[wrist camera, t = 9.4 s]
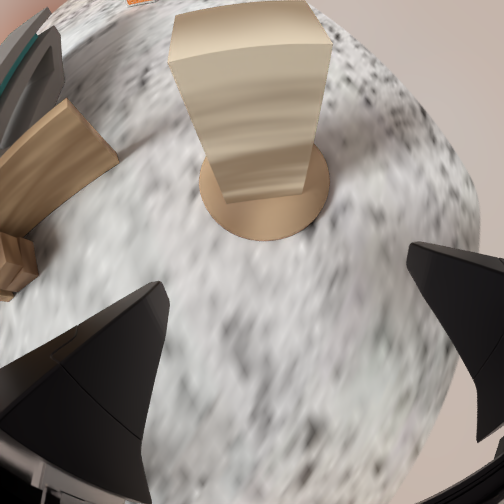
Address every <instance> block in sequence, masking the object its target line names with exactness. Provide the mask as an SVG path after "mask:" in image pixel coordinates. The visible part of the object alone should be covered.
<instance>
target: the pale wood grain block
mask: <svg viewBox="0 0 504 504" xmlns="http://www.w3.org/2000/svg"><path fill="white" fill-rule="evenodd" d="M332 46H333V43H332V42H331V40H330V38H329V37H328V35H327V33H326V32H325V30H324V28H323V27H322V25H321V24H320V22H319V20H318V19H317V17H316V16H315V14H314V13H313V11H312V10H311V8H310V7H309V5H308V4H307V3H306V1H305V0H284V1H263V2H250V3H241V4H233V5H225V6H219V7H213V8H207V9H202V10H197V11H192V12H188V13H184V14H179V15H176V16H175V21H174V26H173V31H172V37H171V43H170V49H169V56H168V62H167V63H168V65H169V67H170V70H171V72H172V75H173V77H174V80H175V82H176V84H177V87H178V89H179V92H180V94H181V97H182V99H183V101H184V104H185V106H186V109H187V111H188V113H189V116H190V118H191V121H192V123H193V125H194V128H195V130H196V133H197V135H198V137H199V140H200V142H201V145H202V147H203V149H204V152H205V154H206V157H207V159H208V161H209V164H210V166H211V169H212V171H213V173H214V176H215V178H216V180H217V183H218V185H219V188H220V190H221V192H222V195H223V197H224V199H225V202H226V204H231V203H238V202H245V201H252V200H260V199H268V198H276V197H284V196H293V195H302V191H303V187H304V183H305V178H306V174H307V170H308V165H309V161H310V156H311V152H312V147H313V143H314V138H315V133H316V129H317V124H318V119H319V114H320V109H321V104H322V100H323V94H324V89H325V84H326V79H327V74H328V68H329V63H330V58H331V52H332Z"/></svg>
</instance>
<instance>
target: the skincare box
mask: <svg viewBox="0 0 504 504" xmlns="http://www.w3.org/2000/svg"><path fill="white" fill-rule="evenodd" d="M124 1H125V3H126V5H127V7H130V6H135V5H140V4H145V3H151V2H156V1H158V0H124Z"/></svg>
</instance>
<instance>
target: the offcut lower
mask: <svg viewBox="0 0 504 504" xmlns="http://www.w3.org/2000/svg"><path fill="white" fill-rule="evenodd" d="M17 242H18V246H19V250H20V254H21V258H22V261H23V265H24V267H23V268H22V270H21V271H20V272H19V273H18V274H17V276H16V277H15V278H14V280H13V281H12V282H11V283H10V285H9V286H8V288H7V289H6V290H7V291H13V292H19V291H20V290H21V289H23V288H24V287H25V286H26V285H28V284H29V283H30V282H32V281H33V280H34V279H35V278H37V277H38V276H39V273H38V268H37V262H36V256H35V250H34V244H33V242H32V241H30V240H27V239H25V238H22V237H18V238H17Z"/></svg>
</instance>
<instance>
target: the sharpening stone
mask: <svg viewBox="0 0 504 504" xmlns="http://www.w3.org/2000/svg"><path fill="white" fill-rule="evenodd" d="M51 14H52V13H51V11H50V10H49V8H48V7H46V8H45V9H43V10H42V11H40V12H39V13H37V14H36V15H34V16H33V17H32V18H30V19H29V20H27V21H26V22H25V23H23V24H22V25H21V26H19V27H18V28H17V29H15V30H14V31H13V32H12V33H10V34H9V35H8V37H7V38H6V39H5V40H4V42H3V43H2V44H1V45H0V158H1V157H2V155H3V154H4V153H5V152H6V151H7V150H8V149H9V148H10V147H11V146H12V145H13V144H14V143H15V142H16V141H17V140H18V139H19V138H20V137H21V136H22V135H23V134H24V133H25V132H26V131H27V130H29V129H30V128H31V127H32V126H33V125H34V124H35V123H36V122H37V121H39V120H40V119H41V118H42V117H43V116H44V115H46V114H47V113H48V112H49V111H50V110H52V109H53V108H54V107H55V104H56V102H57V99H58V97H59V94H60V92H61V90H62V88H63V85H64V83H65V81H64V72H63V62H62V50H61V35H60V33H59V32H58V30H57V29H56V27H55V26H52V27H51V28H49V29H47V30H46V31H44V32H43V33H41V34H40V35H37V34H36V32H37V31H38V30H39V28H40V27H41V26H42V25H43V23H44V22H45V21H46V20H47V19H48V18H49V16H50V15H51Z"/></svg>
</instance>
